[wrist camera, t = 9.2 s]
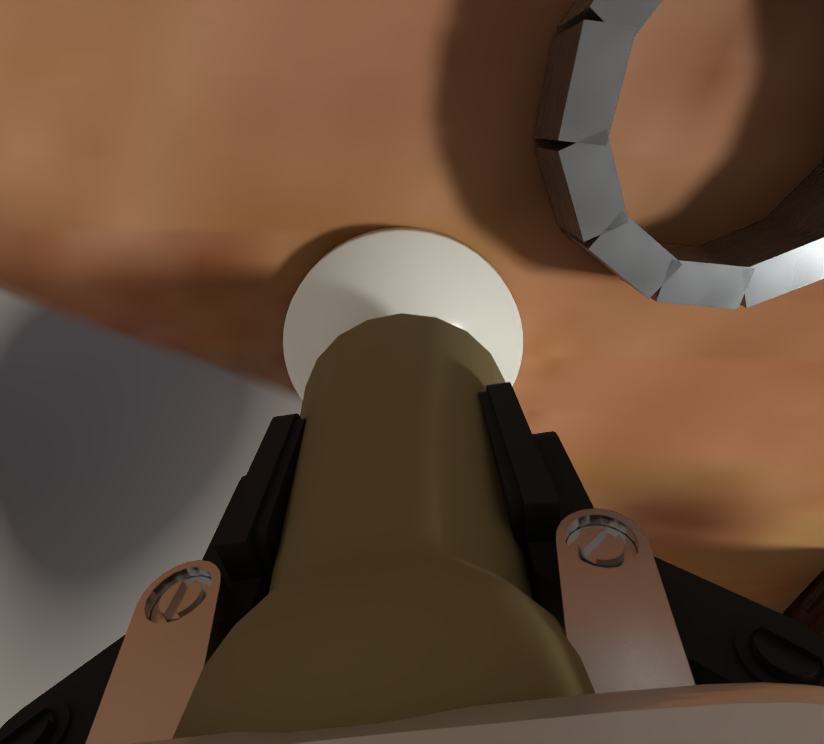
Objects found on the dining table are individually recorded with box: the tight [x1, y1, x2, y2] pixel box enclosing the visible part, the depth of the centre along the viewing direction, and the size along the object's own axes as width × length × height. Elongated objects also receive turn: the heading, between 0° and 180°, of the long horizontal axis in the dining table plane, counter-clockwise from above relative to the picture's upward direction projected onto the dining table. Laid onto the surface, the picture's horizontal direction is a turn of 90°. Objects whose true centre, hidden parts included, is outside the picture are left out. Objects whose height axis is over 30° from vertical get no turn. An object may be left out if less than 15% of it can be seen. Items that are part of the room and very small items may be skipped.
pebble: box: [283, 227, 523, 401], centre depth 16 cm, size 8×8×1 cm
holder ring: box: [534, 0, 824, 309], centre depth 12 cm, size 10×10×2 cm
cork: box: [172, 313, 595, 739], centre depth 9 cm, size 6×6×11 cm
